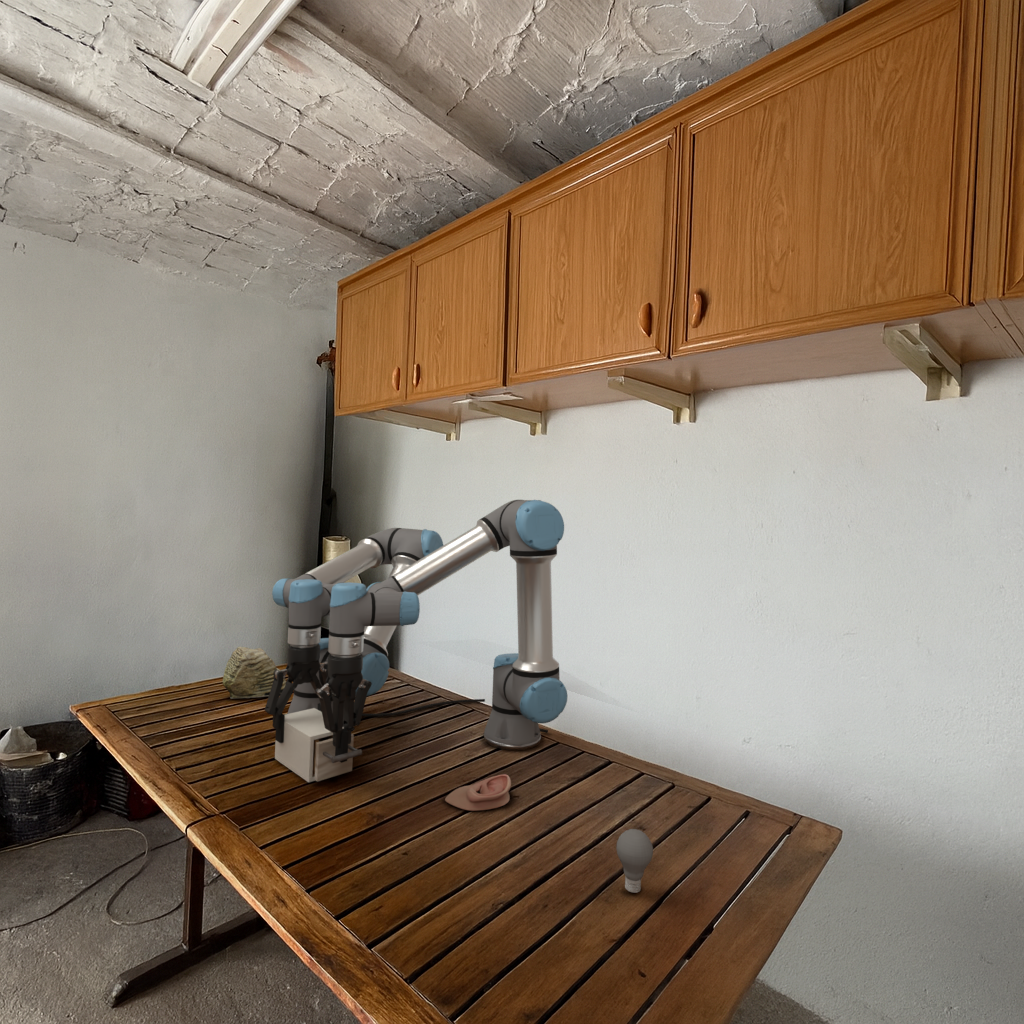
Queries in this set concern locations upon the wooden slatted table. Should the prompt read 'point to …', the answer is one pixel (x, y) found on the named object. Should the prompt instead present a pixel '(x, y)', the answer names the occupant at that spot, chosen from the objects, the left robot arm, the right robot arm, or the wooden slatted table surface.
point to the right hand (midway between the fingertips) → (341, 759)
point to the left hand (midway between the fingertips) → (300, 735)
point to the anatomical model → (482, 794)
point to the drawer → (331, 758)
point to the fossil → (249, 673)
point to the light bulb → (634, 857)
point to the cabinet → (301, 741)
